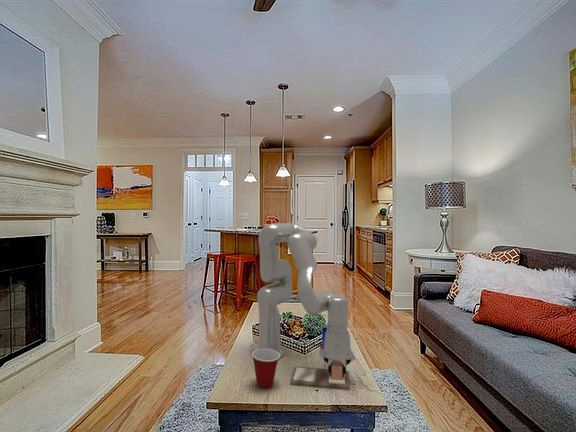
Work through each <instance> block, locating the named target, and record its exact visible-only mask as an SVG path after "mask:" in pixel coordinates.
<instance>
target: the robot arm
mask: <svg viewBox="0 0 576 432" xmlns="http://www.w3.org/2000/svg"><path fill="white" fill-rule="evenodd" d="M277 243H287V244H286V245H287V246H288V250H289V253H290V254H291V255H290V256H291V258H292V260H293V262H294V265H295V267H296V269H297V273H298V275H297V282H296V283H297V284H296V288H297V289H296V290H297V294H298V297H299V300H300V303H301V305H302V307H303V308H304V310H305V312H306V313H308V314H309V315H313V316H316V315H319V314H320V313H323V312H327V323H324V324H323V327H324V328H327V329H328V330H326V333H325V340H324V348H323V350H322V351H321V350H320V351H321V352H320V351H319V355H318V357H319V358H321V359H322V360H324V362H325V363H326V364H327V366H328V368H327V369H328V373H330V376H332V359H333V360H342V377H344V374H346V371H347V366H348V365H349V364H350V363H352V362H353V361H355V360H356V355H355V354H354V352H353V351H352V348H351V345H352V344H351V343H352V342H351V334H350V332H349V331H348V322H349V321H348V318H349V317H348V313H349V311H348V310H349V308H348V307H349V303H348V302H349V301H348V297H346V296H344V295H341V294H335V293H333V292H331V291H327V290H326V291H325V290H323V291H320V292H316V293H315V291H314V289H313V285H312V280H313V279H312V278H313V274H314V272H315V271H316V270H317V269H318V262H317V260H316V257H315V256H314V253H313V251H314V250H315V249H316V247H317V244H318V241H317V238H316V235H314V233H313V232H311V231H309V230H307V229H305V228H304V227H302V226H299V225H297V224H295V223H292V222H277V223H270V224H267V225H264V226H263V227H262V228H261V229H260V232H259V234H258V246H259V273H260V279H261V281H262V282H264V283H271V284H267V285H265V286H262V287H260V289H259V290H258V291H257V294H256V299H257V300H256V301H257V307H258V341H259V342H258V343H257V344H254V343H250V344H249V348H250V350H251V351H255V350H257V349H271V350H275V351H277V352H279V354H280V358H279V359H281V358H283V356H284V351H283V349H281V313H280V311H279V309H278V306H279V305H281V304H284V303H287V302H288V301H290V300H291V298H292V295H293V274H292V273H293V269H292V266H291V264H290V263H289V261H288V260H286V259H283V258H280V251H279V248H278V246H277ZM274 282H275V283H274Z"/></svg>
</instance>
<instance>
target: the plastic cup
mask: <svg viewBox="0 0 576 432" xmlns="http://www.w3.org/2000/svg"><path fill="white" fill-rule="evenodd" d="M251 356H252V360H253V367H254V372H255V378H256V384H257V387H258V388H259V389H262V390H263V389H264V390H265V389H266V390H267V389H270V388H272V387H273V385H274V381H275V376H276V370H277V365H278V362H279V358H280V354H279V352H277V351H275V350H271V349H257V350H252V351H251ZM280 359H281V358H280Z"/></svg>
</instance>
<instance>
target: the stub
mask: <svg viewBox="0 0 576 432" xmlns="http://www.w3.org/2000/svg"><path fill="white" fill-rule="evenodd" d="M331 362H332V376H330V373H329V383H331V384H343V385H345V374H344V377H342V364H343V360H337V359H332V360H331Z"/></svg>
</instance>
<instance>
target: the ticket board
mask: <svg viewBox="0 0 576 432" xmlns="http://www.w3.org/2000/svg"><path fill="white" fill-rule="evenodd" d="M289 385H290V386H298V387H310V388H323V389H333V390H343V391H345V390H346V391H350V374H349V370H346V374H345V385H343V384H331V383H329V373H328V368H319V367H303V366H294V368H293V371H292V375H291V377H290V382H289Z"/></svg>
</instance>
